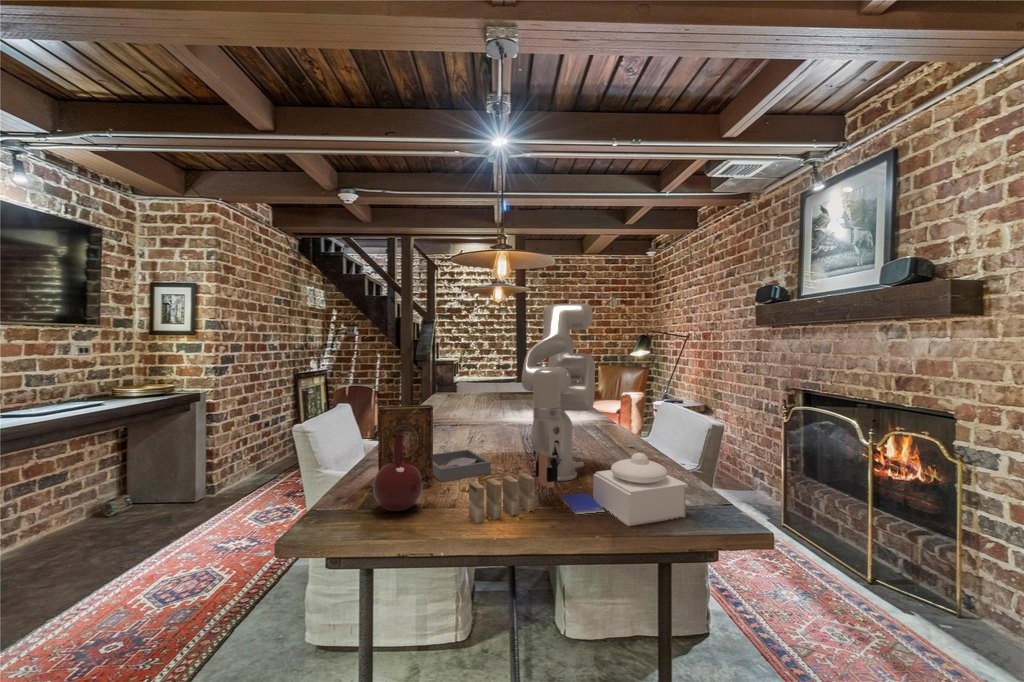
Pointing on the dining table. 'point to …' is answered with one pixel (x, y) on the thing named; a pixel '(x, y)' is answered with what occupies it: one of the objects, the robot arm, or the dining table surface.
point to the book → (408, 437)
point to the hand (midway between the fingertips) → (546, 477)
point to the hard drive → (582, 503)
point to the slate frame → (459, 471)
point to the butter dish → (639, 491)
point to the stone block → (460, 462)
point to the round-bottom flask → (398, 481)
